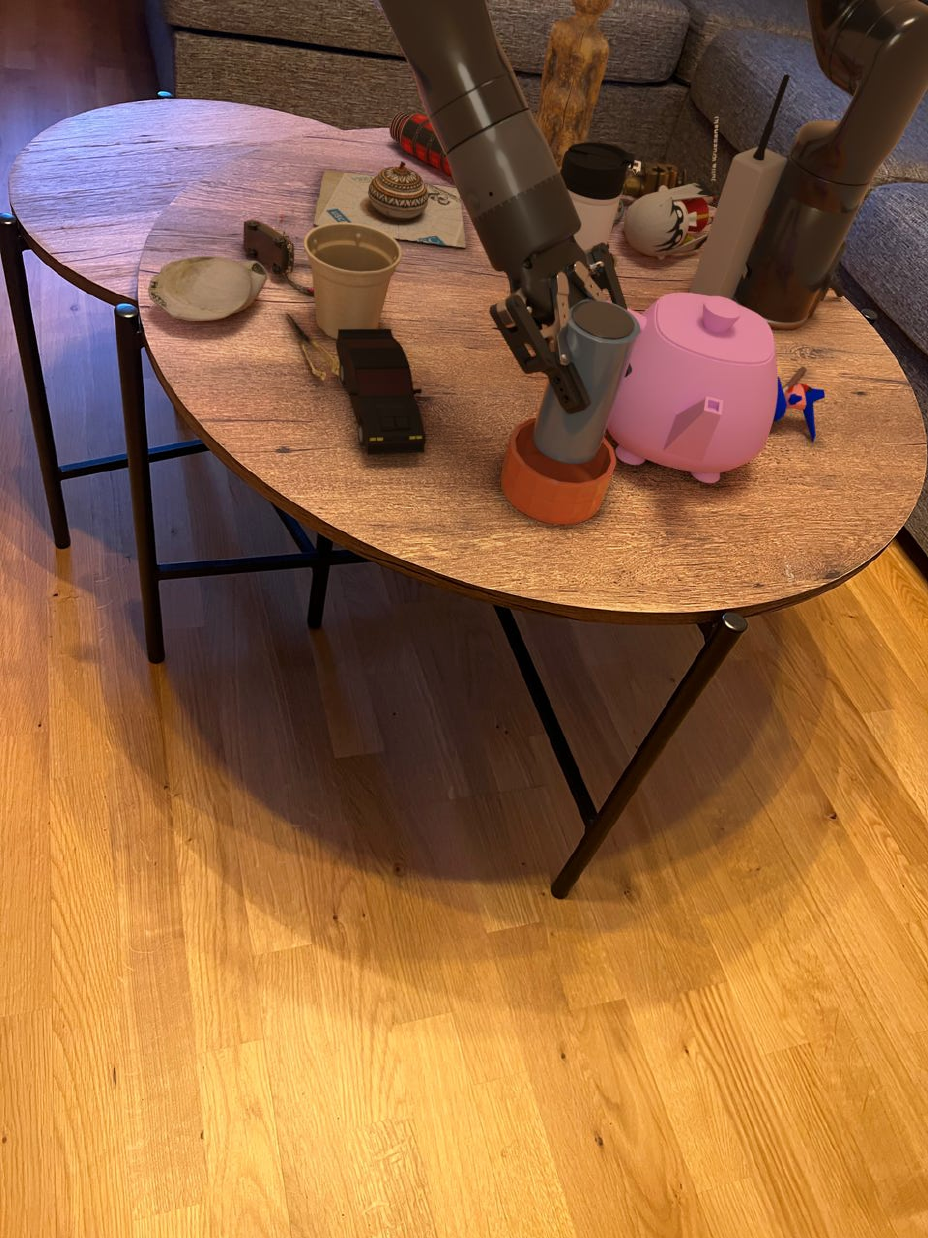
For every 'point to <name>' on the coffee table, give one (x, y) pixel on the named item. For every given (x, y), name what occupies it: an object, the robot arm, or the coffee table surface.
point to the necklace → (310, 290)
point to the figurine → (798, 402)
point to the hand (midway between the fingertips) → (601, 392)
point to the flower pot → (350, 274)
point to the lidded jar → (393, 205)
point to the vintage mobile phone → (739, 214)
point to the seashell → (206, 287)
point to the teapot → (697, 387)
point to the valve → (653, 179)
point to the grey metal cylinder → (588, 381)
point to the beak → (319, 349)
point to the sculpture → (572, 77)
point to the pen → (795, 378)
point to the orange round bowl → (553, 480)
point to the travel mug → (594, 189)
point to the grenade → (419, 139)
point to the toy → (670, 218)
